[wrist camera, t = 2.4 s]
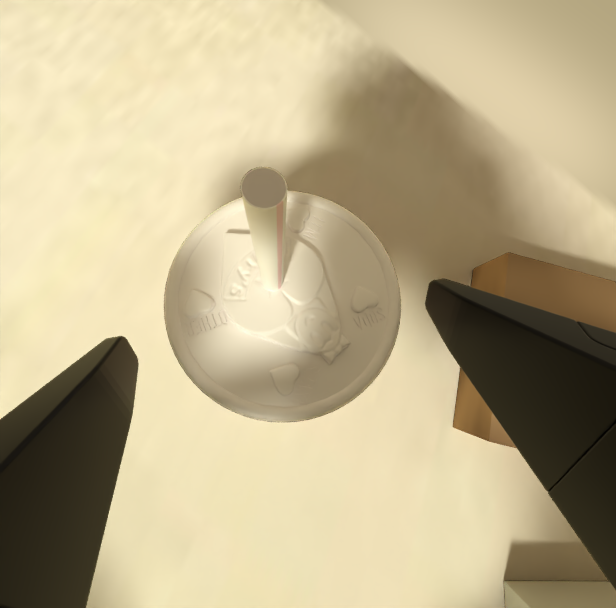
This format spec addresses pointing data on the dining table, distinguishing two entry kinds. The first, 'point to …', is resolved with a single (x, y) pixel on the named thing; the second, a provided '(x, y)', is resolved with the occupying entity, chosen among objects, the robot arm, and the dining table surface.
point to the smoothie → (281, 303)
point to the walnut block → (541, 294)
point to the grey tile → (559, 594)
